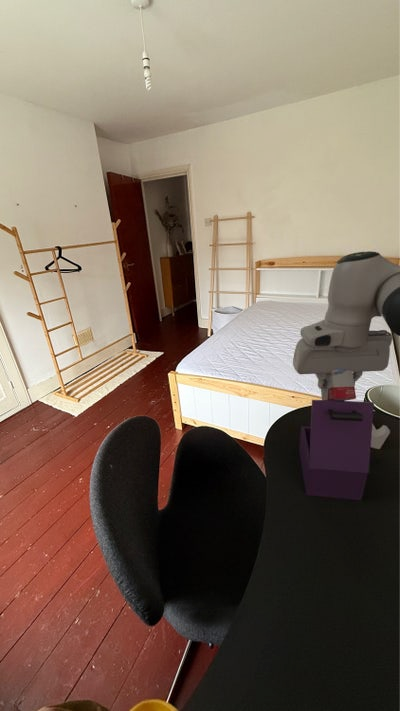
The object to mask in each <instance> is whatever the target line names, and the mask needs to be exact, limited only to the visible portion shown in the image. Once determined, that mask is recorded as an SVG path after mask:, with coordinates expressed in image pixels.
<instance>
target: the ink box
mask: <svg viewBox="0 0 400 711" xmlns="http://www.w3.org/2000/svg"><path fill="white" fill-rule="evenodd" d="M321 378H322V379H325V380H326V382H327V386H326V387H327V388H326V389H320V394H321V400H334V401H353V400H356V399H357V394H356V387H355V386H356V385H355V386H354V379H353V372H352V369H340V370H334V371H331V373H324V377H321Z"/></svg>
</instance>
